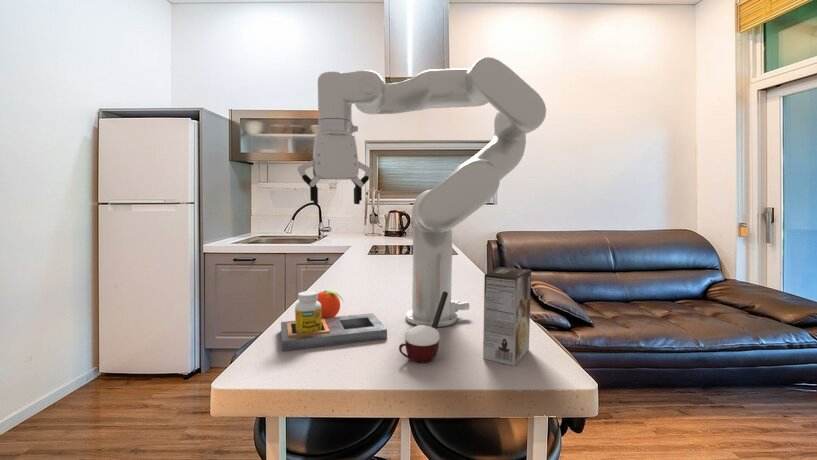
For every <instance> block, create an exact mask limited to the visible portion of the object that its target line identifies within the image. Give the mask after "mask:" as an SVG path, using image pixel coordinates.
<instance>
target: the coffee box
mask: <svg viewBox="0 0 817 460" xmlns="http://www.w3.org/2000/svg"><path fill="white" fill-rule="evenodd" d="M483 282H484V289H483V294H484V295H483V339H482V340H483V341H482V344H483V345H482V349H483V352H482V354H483V355H482V358H483V359H484V360H488V361H491V362H497V363H500V364H505V365H508V366H514V367H515V366H517V365H518V363H520V361H521V360H522V359H523V357H524V356H525V355H526V353H527V352H528V351H529V350H530V323H531V319H530V318H531V293H532V292H531V290H532V289H531V288H532V287H531V285H532V269H525V268H514V267H505V266H504V267H502V266H500V267H498V268H496V269H494V270H492V271H489V272H487V273H485V274H484V281H483Z"/></svg>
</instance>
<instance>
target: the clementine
mask: <svg viewBox="0 0 817 460" xmlns="http://www.w3.org/2000/svg"><path fill="white" fill-rule="evenodd" d="M317 293H318V299H317V301H318V302H320V304H321V317H322V318H328V317H337V315H338V313H339V312H340V309H341V300H342V302H343V303H344V300H343V297H341V295H340V294H338V293H337V292H335V291H331V290H324V291H320V292H317ZM340 299H341V300H340Z"/></svg>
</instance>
